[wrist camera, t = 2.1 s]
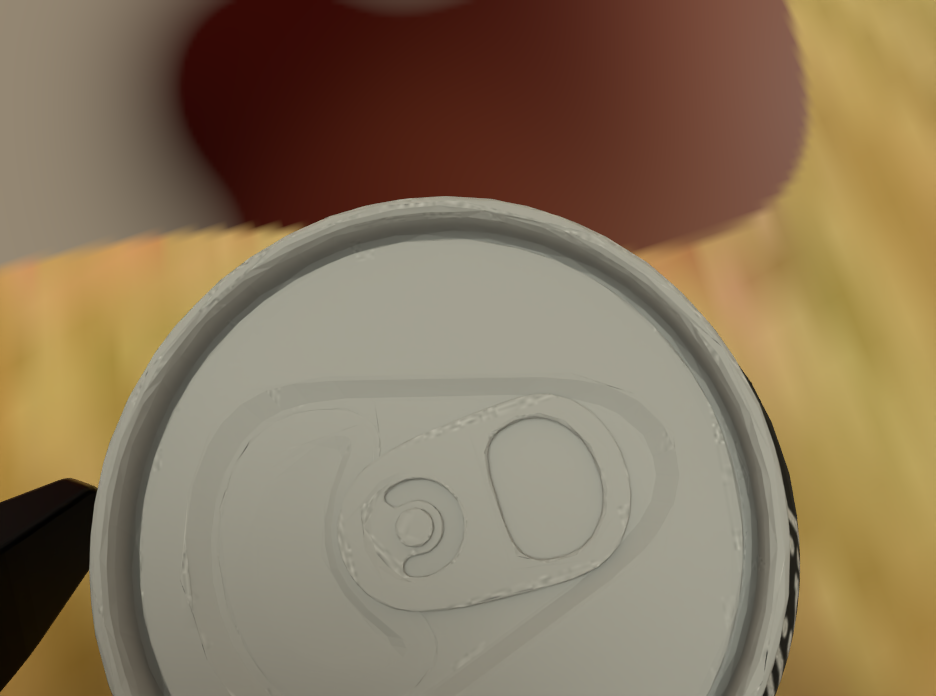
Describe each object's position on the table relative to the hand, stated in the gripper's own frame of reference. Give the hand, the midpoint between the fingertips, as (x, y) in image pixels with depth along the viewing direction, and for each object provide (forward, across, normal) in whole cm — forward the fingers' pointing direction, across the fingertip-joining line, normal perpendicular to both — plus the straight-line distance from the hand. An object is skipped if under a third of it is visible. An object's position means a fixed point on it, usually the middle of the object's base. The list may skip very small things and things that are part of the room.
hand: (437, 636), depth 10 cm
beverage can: (+7, 0, +6) cm, 9 cm away
